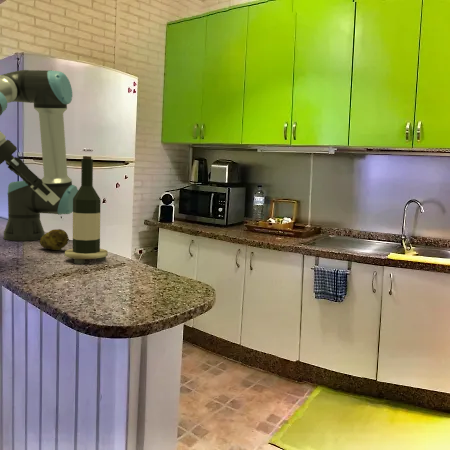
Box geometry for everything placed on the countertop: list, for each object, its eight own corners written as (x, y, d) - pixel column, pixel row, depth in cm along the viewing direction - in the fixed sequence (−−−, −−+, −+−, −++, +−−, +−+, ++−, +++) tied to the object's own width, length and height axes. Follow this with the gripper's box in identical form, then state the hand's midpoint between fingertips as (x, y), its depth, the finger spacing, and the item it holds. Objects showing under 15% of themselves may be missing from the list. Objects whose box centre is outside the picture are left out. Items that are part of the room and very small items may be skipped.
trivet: (65, 257, 150) (65, 248, 150) (105, 256, 154) (105, 247, 154) (64, 265, 138) (64, 255, 138) (109, 264, 142) (109, 254, 142)
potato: (62, 247, 168) (62, 225, 167) (70, 253, 157) (70, 230, 156) (38, 248, 164) (38, 226, 163) (44, 254, 153) (44, 230, 152)
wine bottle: (87, 248, 151) (88, 156, 148) (105, 251, 147) (106, 157, 144) (66, 251, 144) (67, 155, 141) (85, 254, 140) (86, 155, 137)
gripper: (-15, 156, 140) (37, 205, 149) (-12, 155, 118) (50, 213, 127) (4, 140, 142) (55, 189, 151) (10, 136, 120) (69, 194, 129)
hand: (52, 200), depth 139 cm, fingers open, 13 cm apart
